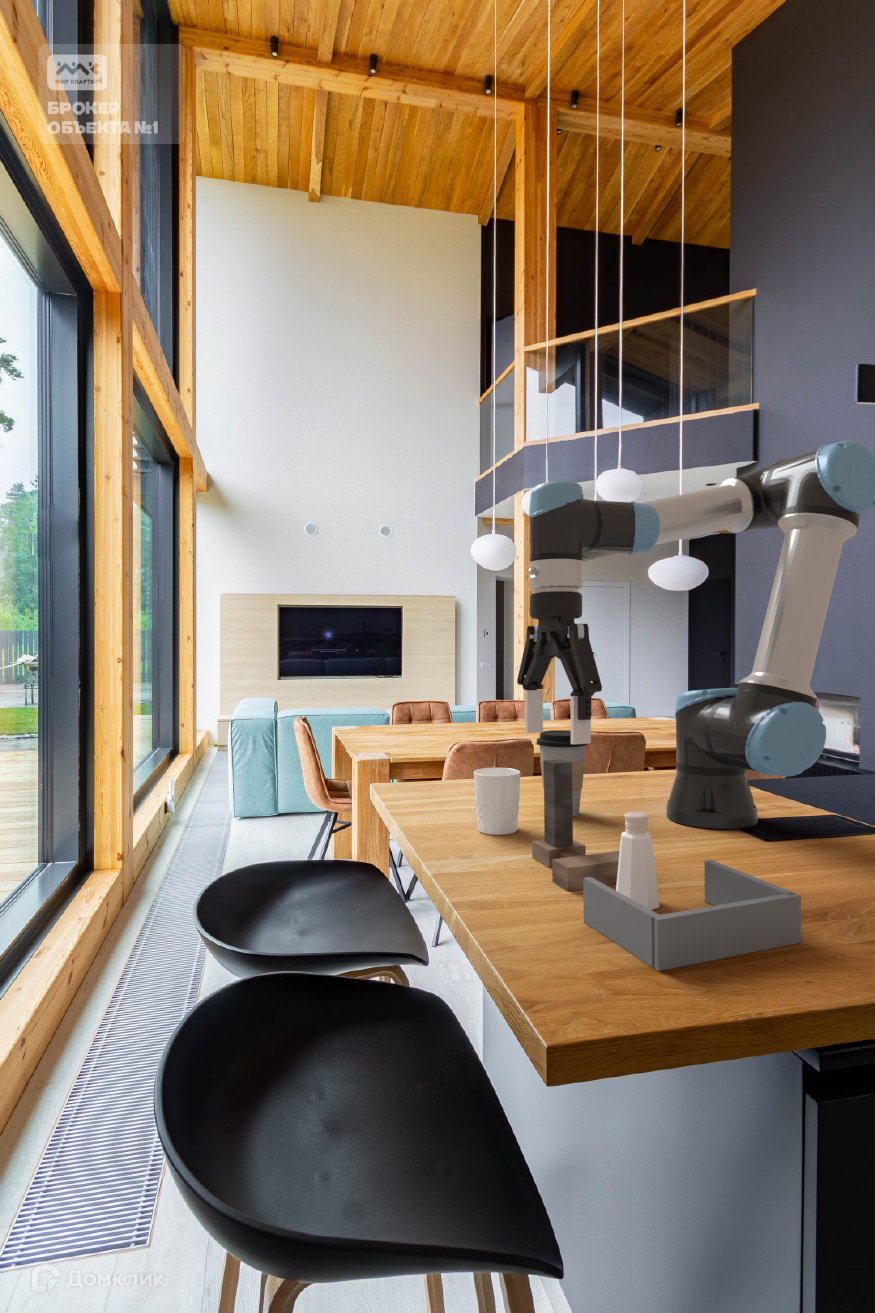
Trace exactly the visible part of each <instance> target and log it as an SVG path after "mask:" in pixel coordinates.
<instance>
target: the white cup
mask: <svg viewBox="0 0 875 1313" xmlns="http://www.w3.org/2000/svg"><path fill="white" fill-rule="evenodd" d="M473 782H474V783H473V784H474V798H475V812H476V821H477V830H478V832H479V833H481V834H482V833H483V834H486V835H492V836H493V835H494V836H495V835H496V836H504V835H510V834H514V833H516V832H517V831H518V829H519V827H518V826H519V817H518V816H519V812H520V810H519V809H520V806H519V804H520V796H521V795H520V794H521V792H520V791H521V789H520V788H521V771H520V770H518V769H515V768H509V767H485V768H478V769H475V770H474V771H473Z"/></svg>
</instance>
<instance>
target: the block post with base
mask: <svg viewBox="0 0 875 1313" xmlns="http://www.w3.org/2000/svg"><path fill="white" fill-rule="evenodd" d="M543 806H544V808H543V814H544V817H543V819H544V821H543V822H544V824H543V825H544V830H543V831H544V832H543V833H544V836H543V837H544V839H540V840H532V841H531V849H532V850H531V852H532V854H531V855H532V859H533V860H535V861H537V862H539V863H540V864H542V865H544V866H545V867H547V868H552V869H551V870H552V872H551V874H552V876H551V877H552V883H553V884H555V885H557V886H559V887H560V888H561V889H563V890H564V891H567V892H572V891H580V890H583V878H587V877H592V878H594V879H595V880H597V881H599V882H601V883H603V884H605V885H606V886H612V885H617V874H618V864H619V853H620V850H614V851H605V852H600V853H591V854H587V853H586V852H587V851H586V850H587V849H586V848H587V847H586V845H585V844H583V843H581V842H579V841H577V840H575V839H574V836H573V835H574V830H573V829H574V826H573V824H574V821H573V820H574V819H573V818H574V817H573V798H572V762H570V761H566V760H563V759H558V760H545V761H544V788H543Z"/></svg>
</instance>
